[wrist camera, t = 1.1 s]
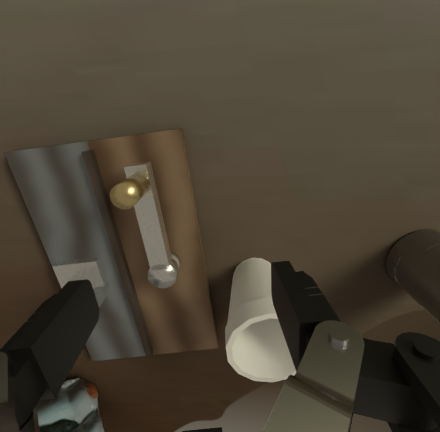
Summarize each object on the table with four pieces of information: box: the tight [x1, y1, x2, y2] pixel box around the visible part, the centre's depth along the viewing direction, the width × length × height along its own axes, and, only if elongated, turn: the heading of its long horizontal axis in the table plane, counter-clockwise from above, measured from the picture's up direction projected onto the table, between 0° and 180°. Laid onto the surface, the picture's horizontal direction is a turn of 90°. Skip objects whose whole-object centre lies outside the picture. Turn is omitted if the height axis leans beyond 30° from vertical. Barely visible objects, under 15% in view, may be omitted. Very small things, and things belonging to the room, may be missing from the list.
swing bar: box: [110, 161, 179, 288], centre depth 28 cm, size 16×4×7 cm, turn 7°
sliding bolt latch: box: [4, 129, 218, 361], centre depth 35 cm, size 21×34×3 cm, turn 7°
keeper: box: [52, 257, 108, 308], centre depth 33 cm, size 6×7×6 cm
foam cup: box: [225, 258, 296, 382], centre depth 32 cm, size 10×9×13 cm
